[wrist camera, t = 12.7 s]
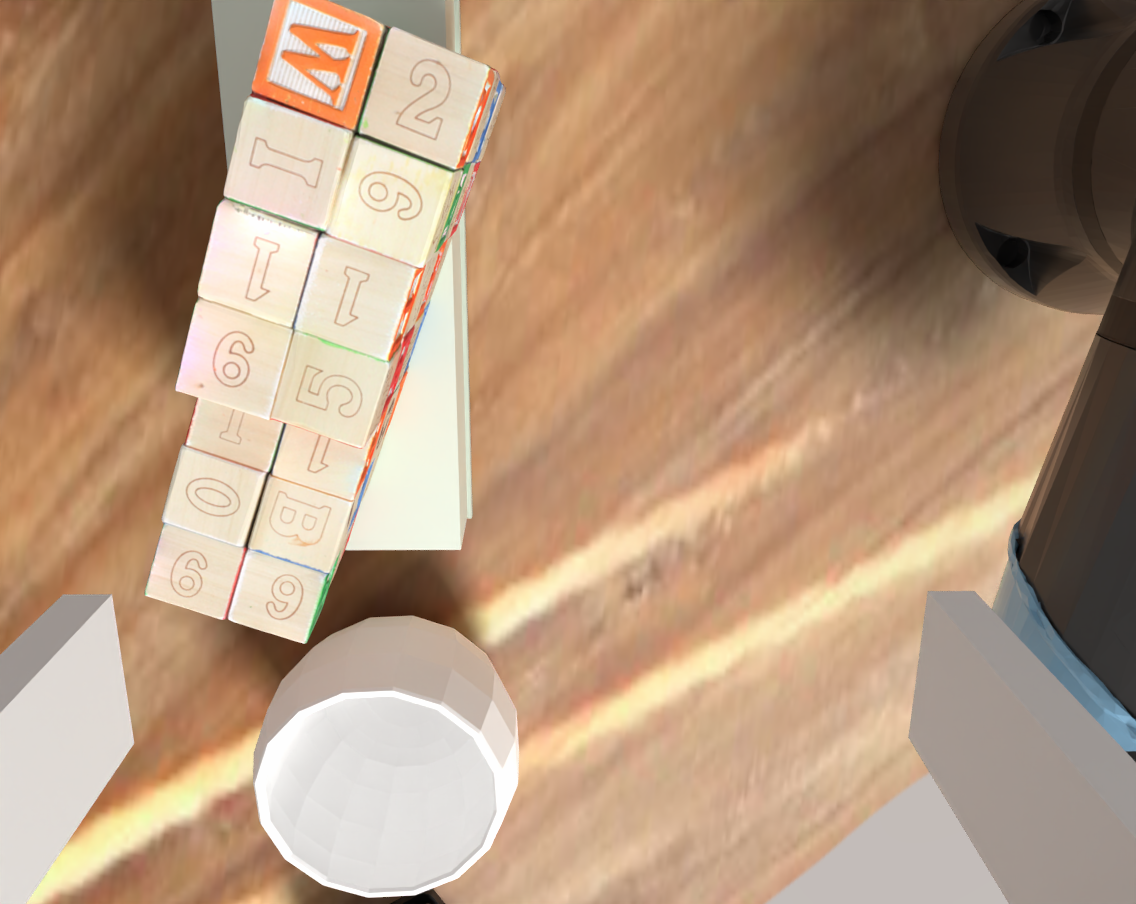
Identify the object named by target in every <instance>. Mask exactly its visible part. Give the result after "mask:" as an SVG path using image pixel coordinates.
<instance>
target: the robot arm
mask: <svg viewBox="0 0 1136 904" xmlns="http://www.w3.org/2000/svg"><path fill="white" fill-rule="evenodd" d="M939 179H940V188H941V194H942V199H943V204H944V207H945V211H946V214H947V217H948V220H949V223H950V225H951V228H952V230H953V232H954V234H955V236H956V238H957V240H958V241H959V243H960V245H961V247H962V248H963V250H964V251H965V252H966V254H967V255H968V257H969V258H970V259H971V260H972V261H973V263H974V264H975V265H976V266H977V267H978V268H979V269H980V270H981V271H982V272H983V273H984V274H985V275H986V276H987V277H989V278H990V279H991V280H992V281H994V282H995V283H996V284H998V285H999V286H1001V287H1002V288H1004V289H1006V290H1007V291H1009V292H1011V293H1013V294H1015V295H1017V296H1019V297H1022V298H1024V299H1027V300H1030V301H1032V302H1035V303H1038V304H1041V305H1044V306H1047V307H1050V308H1054V309H1057V310H1061V311H1066V312H1071V313H1079V314H1096V315H1104V316H1103V318H1102V321H1101V324H1100V326H1099V329H1098V331H1097V333H1096V335H1095V338H1094V340H1093V342H1092V345H1091V347H1090V350H1089V352H1088V355H1087V357H1086V360H1085V362H1084V365H1083V367H1082V370H1081V372H1080V375H1079V377H1078V380H1077V382H1076V385H1075V387H1074V390H1073V392H1072V395H1071V397H1070V400H1069V402H1068V405H1067V407H1066V410H1065V412H1064V415H1063V417H1062V419H1061V422H1060V424H1059V427H1058V429H1057V432H1056V434H1055V437H1054V439H1053V442H1052V444H1051V447H1050V449H1049V452H1048V454H1047V457H1046V459H1045V462H1044V464H1043V467H1042V469H1041V472H1040V474H1039V477H1038V479H1037V482H1036V484H1035V487H1034V489H1033V491H1032V494H1031V496H1030V499H1029V501H1028V504H1027V506H1026V509H1025V511H1024V514H1023V516H1022V518H1021V519H1020V520H1019V521H1018V522H1017V523H1016V524H1015V525H1014V527H1013V529H1012V531H1011V534H1010V537H1009V543H1008V556H1009V559H1008V562H1007V565H1006V568H1005V571H1004V574H1003V577H1002V580H1001V583H1000V586H999V589H998V592H997V595H996V598H995V601H994V604H993V608H992V609H991V608H990V607H989V606H988V605H987V604H986V603H985V602H984V601H983V600H982V599H981V598H980V597H979V596H978V595H977V593H976V592H975V591H928V593H927V601H926V608H925V616H924V624H923V631H922V639H921V646H920V654H919V661H918V669H917V677H916V684H915V692H914V699H913V707H912V714H911V722H910V730H909V737H908V738H909V739H910V741H911V743H912V744H913V746H914V748H915V749H916V751H917V752H918V754H919V756H920V757H921V759H922V761H923V762H924V764H925V766H926V767H927V769H928V771H929V772H930V774H931V776H932V777H933V779H934V781H935V782H936V784H937V785H938V787H939V788H940V790H941V792H942V794H943V795H944V797H945V799H946V800H947V802H948V804H949V805H950V807H951V809H952V810H953V812H954V814H955V815H956V817H957V818H958V820H959V822H960V824H961V825H962V827H963V828H964V830H965V832H966V833H967V835H968V837H969V838H970V840H971V842H972V843H973V845H974V847H975V848H976V850H977V852H978V853H979V855H980V857H981V858H982V860H983V862H984V863H985V865H986V866H987V868H988V870H989V871H990V873H991V875H992V876H993V878H994V880H995V881H996V883H997V885H998V886H999V888H1000V889H1001V891H1002V893H1003V895H1004V896H1005V898H1006V899H1007V901H1008V903H1009V904H1136V0H1024V1H1022V2H1021V3H1020V4H1019V5H1017V6H1016V7H1015V8H1014V9H1013V10H1011V11H1010V12H1009V13H1008V14H1007V15H1006V16H1005V17H1004V18H1003V19H1002V20H1001V21H1000V22H999V23H998V24H997V25H996V26H995V27H994V28H993V29H992V30H991V31H990V33H989V34H988V35H987V36H986V38H985V39H984V40H983V41H982V42H981V44H980V45H979V47H978V48H977V49H976V51H975V52H974V54H973V55H972V57H971V59H970V60H969V62H968V63H967V65H966V67H965V69H964V71H963V72H962V74H961V76H960V78H959V80H958V83H957V85H956V87H955V89H954V92H953V94H952V97H951V100H950V102H949V105H948V109H947V112H946V115H945V119H944V124H943V128H942V134H941V140H940V150H939ZM133 744H134V739H133V732H132V726H131V719H130V712H129V706H128V699H127V692H126V686H125V679H124V672H123V666H122V659H121V652H120V646H119V639H118V632H117V626H116V619H115V612H114V606H113V599H112V594H110V595H62V596H61V597H60V598H59V599H58V600H57V601H56V602H55V603H54V604H53V605H52V606H51V607H50V608H49V609H48V610H47V611H46V612H45V613H43V614H42V615H41V616H40V617H39V618H38V619H37V620H36V621H35V622H34V623H33V624H32V625H31V626H30V627H29V628H28V629H27V630H26V631H25V632H24V633H23V634H22V635H20V636H19V637H18V638H17V639H16V640H15V641H14V642H13V643H12V644H11V645H10V646H9V647H8V648H7V649H6V650H5V651H4V652H3V653H2V654H1V655H0V904H26V903H27V901H28V900H29V899H30V897H31V896H32V894H33V893H34V891H35V890H36V888H37V887H38V885H39V884H40V882H41V881H42V879H43V878H44V876H45V875H46V873H47V872H48V870H49V869H50V867H51V866H52V864H53V863H54V861H55V860H56V858H57V857H58V855H59V854H60V853H61V851H62V850H63V848H64V847H65V845H66V844H67V842H68V841H69V839H70V838H71V836H72V835H73V833H74V832H75V830H76V829H77V827H78V826H79V824H80V823H81V821H82V820H83V818H84V817H85V815H86V814H87V812H88V811H89V810H90V808H91V807H92V805H93V804H94V802H95V801H96V799H97V798H98V796H99V795H100V793H101V792H102V790H103V789H104V787H105V786H106V784H107V783H108V781H109V780H110V778H111V777H112V775H113V774H114V772H115V771H116V769H117V768H118V766H119V765H120V764H121V762H122V761H123V759H124V758H125V756H126V755H127V753H128V752H129V750H130V749H131V747H132V746H133Z"/></svg>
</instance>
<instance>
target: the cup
mask: <svg viewBox="0 0 1136 904" xmlns="http://www.w3.org/2000/svg"><path fill="white" fill-rule="evenodd" d="M518 766H519V744H518V728H517V712H516V708H515V706H514V704H513V702H512V700H511V698H510V696H509V694H508V692H507V691H506V689H505V687H504V685H503V683H502V681H501V679H500V678H499V676H498V674H497V672H496V670H495V669H494V667H493V665H492V663H491V661H490V659H489V658H488V656H487V654H486V653H485V652H483V651H482V650H481V649H480V648H478V647H477V646H476V645H474V644H473V643H472V642H471V641H469V640H468V639H467V638H466V637H464V636H463V635H462V634H461V633H459V632H458V631H457V630H455V629H454V628H451V627H448V626H445V625H441V624H438V623H435V622H432V621H429V620H426V619H422V618H419V617H416V616H392V617H371V618H368V619H365V620H363V621H361V622H358V623H356V624H354V625H352V626H349V627H347V628H345V629H342V630H340V631H338V632H335V633H333V634H331V635H330V636H328V637H327V638H326V639H324V640H323V641H321V642H320V643H319V644H317V645H316V646H314V647H313V648H312V649H311V650H310V651H309V652H308V653H307V654H306V655H305V656H304V657H303V659H302V660H301V661H300V662H299V663H298V664H297V665H296V666H295V667H294V668H293V669H292V670H291V671H290V672H289V673H288V674H287V675H286V677H285V678H284V679H283V680H282V681H281V683H280V685H279V687H278V689H277V691H276V693H275V695H274V698H273V700H272V702H271V704H270V706H269V708H268V710H267V713H266V716H265V719H264V722H263V726H262V729H261V732H260V735H259V738H258V741H257V744H256V748H255V751H254V769H253V783H254V789H255V795H256V801H257V807H258V814H259V820H260V823H261V825H262V826H263V828H264V829H265V831H266V832H267V834H268V835H269V837H270V838H271V840H272V841H273V842H274V844H275V845H276V847H277V848H278V850H279V851H280V853H281V854H282V856H283V857H284V859H285V860H287V861H288V862H290V863H291V864H293V865H294V866H296V867H297V868H298V869H300V870H301V871H303V872H304V873H306V874H307V875H309V876H310V877H312V878H313V879H315V880H316V881H317V882H319V883H320V884H322V885H324V886H328V887H331V888H335V889H338V890H342V891H346V892H349V893H353V894H357V895H360V896H364V897H368V898H370V897H390V896H411V895H417V894H419V893H422V892H424V891H427V890H429V889H432V888H434V887H437V886H439V885H442V884H444V883H447V882H449V881H452V880H454V879H457V878H459V877H460V876H461V875H462V874H463V873H464V872H465V871H466V870H467V869H468V868H469V867H470V866H471V865H473V864H474V863H475V862H476V861H477V860H478V859H479V858H480V857H481V856H482V855H483V854H484V853H485V852H486V851H488V850H489V849H490V847H491V845H492V843H493V840H494V838H495V836H496V834H497V832H498V830H499V828H500V826H501V824H502V821H503V819H504V816H505V814H506V812H507V809H508V807H509V804H510V802H511V800H512V797H513V795H514V792H515V790H516V788H517V785H518Z"/></svg>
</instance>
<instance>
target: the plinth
mask: <svg viewBox="0 0 1136 904" xmlns="http://www.w3.org/2000/svg"><path fill="white" fill-rule="evenodd" d="M329 1H331V2H334V3H336V4H339V5H341V6H344V7H346V8H348V9H351V10H353V11H356V12H358V13H361V14H363V15H366V16H368V17H370V18H372V19H375V20H377V21H379V22H381V23H382V24H384V25H386V26H389V27H393V26H394V27H396V28H399V29H401V30H404V31H406V32H408V33H411V34H413V35H416V36H418V37H420V38H423V39H425V40H427V41H430V42H432V43H435V44H437V45H439V46H442V47H444V48H447V49H449V50H451V51H454V52H456V53H459V54H461V23H460V0H329ZM211 3H212V13H213V24H214V34H215V44H216V55H217V65H218V76H219V86H220V96H221V107H222V117H223V128H224V138H225V149H226V159H227V169H229V165H230V160H231V156H232V152H233V148H234V144H235V140H236V136H237V131H238V126H239V122H240V119H241V115H242V110H243V106H244V102H245V100H246V98H247V96H249V95H250V94H251V93H252V82H253V78H254V74H255V70H256V66H257V63H258V59H259V54H260V51H261V47H262V43H263V40H264V36H265V32H266V28H267V24H268V20H269V16H270V12H271V8H272V4H273V0H211ZM472 514H473V512H472V471H471V431H470V390H469V349H468V309H467V268H466V227H465V207H464V210H463V213H462V216H461V219H460V221H459V224H458V227H457V230H456V231H455V232H454V234H453V236H452V240H451V242H450V245H449V248H448V251H447V254H446V257H445V260H444V263H443V266H442V269H441V272H440V274H439V277H438V280H437V283H436V286H435V289H434V292H433V295H432V298H431V301H430V305H429V308H428V311H427V314H426V316H425V319H424V322H423V325H422V328H421V330H420V333H419V336H418V339H417V342H416V345H415V348H414V351H413V354H412V356H411V359H410V362H409V371H408V374H407V376H406V379H405V382H404V385H403V388H402V391H401V394H400V397H399V400H398V402H397V405H396V408H395V411H394V414H393V417H392V420H391V423H390V425H389V428H388V430H387V434H386V437H385V440H384V443H383V446H382V448H381V451H380V454H379V457H378V460H377V463H376V466H375V469H374V472H373V475H372V478H371V481H370V484H369V487H368V489H367V491H366V493H365V496H364V498H363V500H362V502H361V504H360V507H359V510H358V513H357V516H356V519H355V522H354V525H353V528H352V531H351V534H350V538H349V541H348V544H347V546H346V549H345V550H461V546H462V541H463V536H464V531H465V526H466V521H467V518H472Z"/></svg>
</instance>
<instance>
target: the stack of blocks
mask: <svg viewBox="0 0 1136 904" xmlns="http://www.w3.org/2000/svg"><path fill="white" fill-rule="evenodd" d="M505 92H506V88H505V87H504V85H503V84H502V83H501V82H500V76H499V73H498V71H497V70H495V69H493V68H491V67H490V66H488V65H486V64H483V63H480V62H478V61H475V60H473V59H471V58H468V57H466V56H463V55H461V54H459V53H456V52H454V51H451V50H449V49H447V48H444V47H442V46H439V45H437V44H435V43H432V42H430V41H427V40H425V39H423V38H420V37H418V36H416V35H413V34H411V33H408V32H406V31H404V30H401V29H399V28H396V27H394V26H393V27H389V26H386V25H384V24H382V23H381V22H379V21H377V20H375V19H372V18H370V17H368V16H366V15H363V14H361V13H358V12H356V11H353V10H351V9H348V8H346V7H344V6H341V5H339V4H336V3H334V2H331V1H329V0H273V4H272V8H271V12H270V16H269V20H268V24H267V28H266V32H265V36H264V40H263V43H262V47H261V51H260V54H259V59H258V63H257V66H256V70H255V74H254V78H253V82H252V93H251V94H250V95H249V96H247V98H246V100H245V102H244V106H243V110H242V115H241V119H240V122H239V126H238V131H237V136H236V140H235V144H234V148H233V152H232V156H231V160H230V165H229V169H228V173H227V178H226V182H225V187H224V197H225V198H224V199H223V200H221V201H220V202H219V204H218V206H217V208H216V213H215V217H214V220H213V224H212V229H211V234H210V238H209V242H208V246H207V250H206V255H205V259H204V263H203V267H202V272H201V276H200V280H199V284H198V297H199V298H198V300H197V302H196V304H195V306H194V310H193V314H192V318H191V323H190V327H189V331H188V335H187V340H186V344H185V348H184V352H183V356H182V360H181V364H180V369H179V373H178V378H177V381H176V385H175V390H176V391H179V392H182V393H185V394H189V395H192V396H195V397H197V401H196V404H195V408H194V412H193V415H192V419H191V422H190V426H189V429H188V433H187V437H186V441H185V443H184V444H183V445H182V446H181V449H180V453H179V456H178V460H177V463H176V466H175V470H174V473H173V477H172V480H171V484H170V488H169V492H168V495H167V499H166V503H165V507H164V511H163V514H162V521H163V523H164V525H163V528H162V531H161V535H160V538H159V541H158V545H157V549H156V553H155V556H154V560H153V563H152V567H151V571H150V574H149V578H148V582H147V585H146V589H145V596H148V597H151V598H154V599H157V600H161V601H164V602H167V603H170V604H173V605H177V606H180V607H183V608H186V609H190V610H193V611H196V612H199V613H202V614H205V615H208V616H211V617H214V618H217V619H221V620H222V619H229V620H231V621H233V622H235V623H239V624H242V625H245V626H248V627H251V628H254V629H257V630H260V631H264V632H267V633H271V634H274V635H277V636H280V637H283V638H287V639H290V640H293V641H296V642H300V643H303V644H305V643H307V641H308V639H309V637H310V635H311V633H312V630H313V628H314V626H315V624H316V622H317V619H318V617H319V615H320V613H321V610H322V608H323V605H324V602H325V599H326V595H327V592H328V589H329V587H330V584H331V582H332V580H333V578H334V575H335V573H336V570H337V568H338V565H339V562H340V560H341V558H342V556H343V553H344V551H345V549H346V546H347V544H348V541H349V538H350V534H351V531H352V528H353V525H354V522H355V519H356V516H357V513H358V510H359V507H360V504H361V502H362V500H363V498H364V496H365V493H366V491H367V489H368V487H369V484H370V481H371V478H372V475H373V472H374V469H375V466H376V463H377V460H378V457H379V454H380V451H381V448H382V446H383V443H384V440H385V437H386V434H387V430H388V428H389V425H390V423H391V420H392V417H393V414H394V411H395V408H396V405H397V402H398V400H399V397H400V394H401V391H402V388H403V385H404V382H405V379H406V376H407V374H408V371H409V362H410V359H411V356H412V354H413V351H414V348H415V345H416V342H417V339H418V336H419V333H420V330H421V328H422V325H423V322H424V319H425V316H426V314H427V311H428V308H429V305H430V301H431V298H432V295H433V292H434V289H435V286H436V283H437V280H438V277H439V274H440V272H441V269H442V266H443V263H444V260H445V257H446V254H447V251H448V248H449V245H450V242H451V240H452V236H453V234H454V232H455V231H456V230H457V227H458V224H459V221H460V219H461V216H462V213H463V210H464V207H465V205H466V202H467V199H468V196H469V193H470V190H471V187H472V185H473V182H474V179H475V176H476V173H477V170H478V167H479V165H480V162H481V160H482V158H483V155H484V153H485V150H486V147H487V144H488V141H489V138H490V135H491V133H492V130H493V127H494V124H495V121H496V118H497V116H498V113H499V110H500V107H501V104H502V101H503V98H504V96H505Z"/></svg>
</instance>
